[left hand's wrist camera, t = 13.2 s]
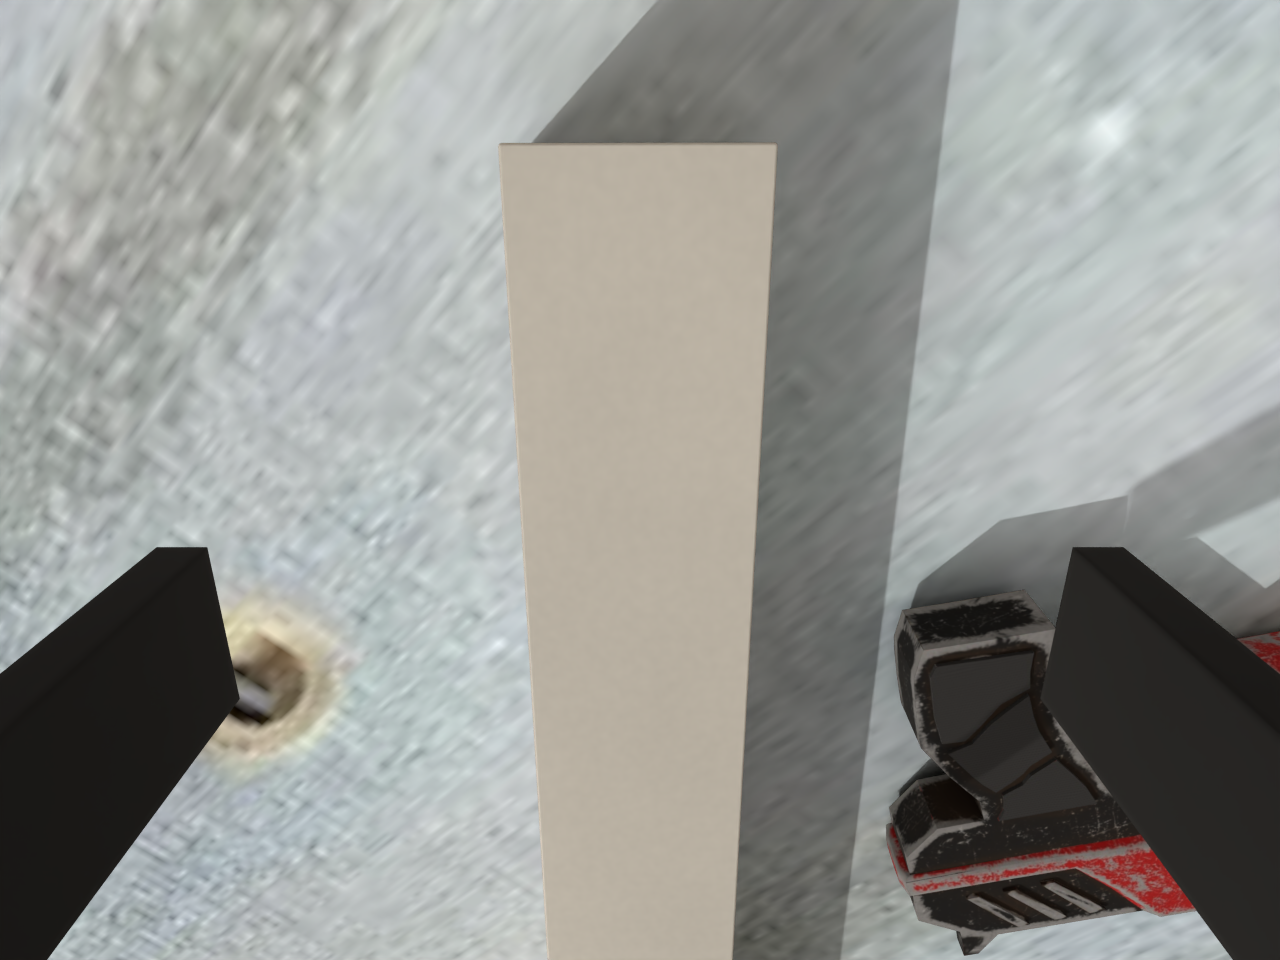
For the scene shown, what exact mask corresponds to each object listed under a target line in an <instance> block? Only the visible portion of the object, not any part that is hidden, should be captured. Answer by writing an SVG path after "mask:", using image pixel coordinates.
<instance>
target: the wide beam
mask: <svg viewBox="0 0 1280 960" xmlns="http://www.w3.org/2000/svg"><path fill="white" fill-rule="evenodd" d="M498 149H499V166H500V182H501V199H502V215H503V232H504V248H505V265H506V281H507V298H508V314H509V331H510V347H511V364H512V380H513V397H514V413H515V430H516V446H517V463H518V479H519V495H520V512H521V528H522V545H523V561H524V578H525V594H526V611H527V627H528V644H529V660H530V677H531V693H532V710H533V726H534V743H535V759H536V776H537V792H538V809H539V825H540V842H541V858H542V875H543V891H544V908H545V924H546V941H547V957H548V960H733V948H734V929H735V911H736V893H737V875H738V857H739V839H740V821H741V803H742V785H743V767H744V749H745V730H746V712H747V694H748V676H749V658H750V640H751V622H752V604H753V586H754V568H755V550H756V531H757V513H758V495H759V477H760V459H761V441H762V423H763V405H764V387H765V369H766V351H767V332H768V314H769V296H770V278H771V260H772V242H773V224H774V206H775V188H776V170H777V152H778V145H777V143H775V142H767V143H500V144H499V146H498Z"/></svg>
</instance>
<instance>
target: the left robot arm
mask: <svg viewBox="0 0 1280 960" xmlns="http://www.w3.org/2000/svg"><path fill="white" fill-rule="evenodd" d="M239 699H240V698H239V693H238V689H237V684H236V679H235V675H234V670H233V665H232V661H231V656H230V651H229V647H228V642H227V637H226V633H225V628H224V623H223V619H222V614H221V609H220V605H219V600H218V595H217V591H216V586H215V581H214V577H213V572H212V567H211V563H210V558H209V554H208V549H207V547H156V548H155V549H154V550H153V551H152V552H150V553H149V554H148V555H147V556H145V557H144V558H143V559H142V560H140V561H139V562H138V563H137V564H135V565H134V566H133V567H132V568H131V569H129V570H128V571H127V572H126V573H124V574H123V575H122V576H121V577H119V578H118V579H117V580H116V581H114V582H113V583H112V584H111V585H109V586H108V587H107V588H106V589H105V590H103V591H102V592H101V593H100V594H98V595H97V596H96V597H95V598H93V599H92V600H91V601H90V602H88V603H87V604H86V605H85V606H84V607H82V608H81V609H80V610H79V611H77V612H76V613H75V614H74V615H72V616H71V617H70V618H69V619H67V620H66V621H65V622H64V623H63V624H61V625H60V626H59V627H58V628H56V629H55V630H54V631H53V632H51V633H50V634H49V635H48V636H46V637H45V638H44V639H43V640H41V641H40V642H39V643H38V644H37V645H35V646H34V647H33V648H32V649H30V650H29V651H28V652H27V653H25V654H24V655H23V656H22V657H20V658H19V659H18V660H17V661H16V662H14V663H13V664H12V665H11V666H9V667H8V668H7V669H6V670H4V671H3V672H2V673H1V674H0V960H47V959H48V958H49V956H50V955H51V954H52V952H53V951H54V950H55V948H56V947H57V946H58V944H59V943H60V941H61V940H62V939H63V937H64V936H65V935H66V933H67V932H68V931H69V929H70V928H71V927H72V925H73V924H74V923H75V921H76V920H77V918H78V917H79V916H80V914H81V913H82V912H83V910H84V909H85V908H86V906H87V905H88V904H89V902H90V901H91V899H92V898H93V897H94V895H95V894H96V893H97V891H98V890H99V889H100V887H101V886H102V885H103V883H104V882H105V881H106V879H107V878H108V876H109V875H110V874H111V872H112V871H113V870H114V868H115V867H116V866H117V864H118V863H119V862H120V860H121V859H122V858H123V856H124V855H125V853H126V852H127V851H128V849H129V848H130V847H131V845H132V844H133V843H134V841H135V840H136V839H137V837H138V836H139V834H140V833H141V832H142V830H143V829H144V828H145V826H146V825H147V824H148V822H149V821H150V820H151V818H152V817H153V816H154V814H155V813H156V811H157V810H158V809H159V807H160V806H161V805H162V803H163V802H164V801H165V799H166V798H167V797H168V795H169V794H170V792H171V791H172V790H173V788H174V787H175V786H176V784H177V783H178V782H179V780H180V779H181V778H182V776H183V775H184V774H185V772H186V771H187V769H188V768H189V767H190V765H191V764H192V763H193V761H194V760H195V759H196V757H197V756H198V755H199V753H200V752H201V750H202V749H203V748H204V746H205V745H206V744H207V742H208V741H209V740H210V738H211V737H212V736H213V734H214V733H215V732H216V730H217V729H218V727H219V726H220V725H221V723H222V722H223V721H224V719H225V718H226V717H227V715H228V714H229V713H230V711H231V710H232V708H233V707H234V706H235V704H236V703H237V702H238V700H239ZM1040 699H1041V700H1042V702H1043V703H1044V704H1045V706H1046V707H1047V708H1048V710H1049V711H1050V713H1051V714H1052V715H1053V717H1054V718H1055V719H1056V721H1057V722H1058V723H1059V725H1060V726H1061V727H1062V729H1063V730H1064V732H1065V733H1066V734H1067V736H1068V737H1069V738H1070V740H1071V741H1072V742H1073V744H1074V745H1075V746H1076V748H1077V749H1078V750H1079V752H1080V753H1081V755H1082V756H1083V757H1084V759H1085V760H1086V761H1087V763H1088V764H1089V765H1090V767H1091V768H1092V769H1093V771H1094V772H1095V774H1096V775H1097V776H1098V778H1099V779H1100V780H1101V782H1102V783H1103V784H1104V786H1105V787H1106V788H1107V790H1108V791H1109V792H1110V794H1111V795H1112V797H1113V798H1114V799H1115V801H1116V802H1117V803H1118V805H1119V806H1120V807H1121V809H1122V810H1123V811H1124V813H1125V814H1126V816H1127V817H1128V818H1129V820H1130V821H1131V822H1132V824H1133V825H1134V826H1135V828H1136V829H1137V830H1138V832H1139V833H1140V834H1141V836H1142V837H1143V839H1144V840H1145V841H1146V843H1147V844H1148V845H1149V847H1150V848H1151V849H1152V851H1153V852H1154V853H1155V855H1156V856H1157V858H1158V859H1159V860H1160V862H1161V863H1162V864H1163V866H1164V867H1165V868H1166V870H1167V871H1168V872H1169V874H1170V875H1171V876H1172V878H1173V879H1174V881H1175V882H1176V883H1177V885H1178V886H1179V887H1180V889H1181V890H1182V891H1183V893H1184V894H1185V895H1186V897H1187V898H1188V900H1189V901H1190V902H1191V904H1192V905H1193V906H1194V908H1195V909H1196V910H1197V912H1198V913H1199V914H1200V916H1201V917H1202V918H1203V920H1204V921H1205V923H1206V924H1207V925H1208V927H1209V928H1210V929H1211V931H1212V932H1213V933H1214V935H1215V936H1216V937H1217V939H1218V940H1219V941H1220V943H1221V944H1222V946H1223V947H1224V948H1225V950H1226V951H1227V952H1228V954H1229V955H1230V956H1231V958H1232V959H1233V960H1280V674H1279V673H1278V672H1277V671H1276V670H1274V669H1273V668H1272V667H1271V666H1269V665H1268V664H1267V663H1266V662H1264V661H1263V660H1262V659H1261V658H1260V657H1258V656H1257V655H1256V654H1255V653H1253V652H1252V651H1251V650H1250V649H1248V648H1247V647H1246V646H1245V645H1243V644H1242V643H1241V642H1240V641H1239V640H1237V639H1236V638H1235V637H1234V636H1232V635H1231V634H1230V633H1229V632H1227V631H1226V630H1225V629H1224V628H1222V627H1221V626H1220V625H1219V624H1217V623H1216V622H1215V621H1214V620H1213V619H1211V618H1210V617H1209V616H1208V615H1206V614H1205V613H1204V612H1203V611H1201V610H1200V609H1199V608H1198V607H1196V606H1195V605H1194V604H1193V603H1192V602H1190V601H1189V600H1188V599H1187V598H1185V597H1184V596H1183V595H1182V594H1180V593H1179V592H1178V591H1177V590H1175V589H1174V588H1173V587H1172V586H1171V585H1169V584H1168V583H1167V582H1166V581H1164V580H1163V579H1162V578H1161V577H1159V576H1158V575H1157V574H1156V573H1154V572H1153V571H1152V570H1151V569H1149V568H1148V567H1147V566H1146V565H1145V564H1143V563H1142V562H1141V561H1140V560H1138V559H1137V558H1136V557H1135V556H1133V555H1132V554H1131V553H1130V552H1128V551H1127V550H1126V549H1125V548H1124V547H1073V549H1072V554H1071V558H1070V563H1069V567H1068V572H1067V577H1066V581H1065V586H1064V591H1063V595H1062V600H1061V605H1060V609H1059V614H1058V619H1057V623H1056V628H1055V633H1054V637H1053V642H1052V647H1051V651H1050V656H1049V661H1048V665H1047V670H1046V675H1045V679H1044V684H1043V689H1042V693H1041V698H1040Z"/></svg>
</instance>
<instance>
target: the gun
mask: <svg viewBox="0 0 1280 960" xmlns="http://www.w3.org/2000/svg"><path fill="white" fill-rule="evenodd" d="M1054 633H1055V627H1054V626H1053V624H1052V623H1051V622H1050V621H1049V619H1048V618H1047V617H1046V616H1045V614H1044V613H1043V612H1042V611H1041V610H1040V608H1039V607H1038V606H1037V605H1036V603H1035V602H1034V601H1033V600H1032V599H1031V597H1030V596H1029V595H1028V594H1027V592H1026V591H1025V590H1020V591H1014V592H1008V593H1002V594H997V595H991V596H985V597H979V598H973V599H967V600H962V601H956V602H949V603H943V604H937V605H931V606H924V607H918V608H912V609H906V610H902V613H901V616H900V619H899V622H898V625H897V628H896V631H895V635H894V650H895V661H896V672H897V679H898V685H899V692H900V698H901V703H902V706H903V708H904V710H905V712H906V715H907V717H908V719H909V722H910V724H911V726H912V728H913V731H914V733H915V735H916V737H917V740H918V742H919V744H920V747H921V749H922V750H923V751H924V752H925V753H926V754H927V755H928V756H929V757H930V758H931V759H932V760H933V761H934V762H935V763H936V764H937V765H938V766H939V767H940V768H941V769H942V770H943V771H944V772H945V773H946V774H945V775H940V776H934V777H929V778H924V779H919V780H916V781H915V782H914V783H913V784H912V785H911V786H910V787H909V788H908V789H907V790H906V791H905V792H904V793H903V794H902V795H901V796H900V797H899V798H898V799H897V800H896V801H895V802H894V803H893V804H892V805H891V806H890V807H889V810H890V815H891V820H892V823H889V824H887V825H886V840H887V845H888V849H889V852H890V856H891V859H892V862H893V865H894V868H895V871H896V874H897V876H898V879H899V882H900V884H901V885H902V886H903V888H904V889H905V890H906V891H907V893H908V894H909V895H910V897H911V900H912V903H913V906H914V908H915V911H916V914H917V917H918V920H919V921H922V922H926V923H930V924H933V925H937V926H941V927H944V928H948V929H952V930H955V931H956V932H957V938H958V941H959V944H960V946H961V949H962V952H963V954H964V956H965V955H972V954H978V953H979V952H980V951H981V950H982V949H983V948H984V947H985V946H986V945H987V944H988V943H989V942H991V941H992V940H993V939H994V938H995V937H996V936H997V935H998V934H1003V933H1009V932H1015V931H1021V930H1027V929H1033V928H1039V927H1045V926H1051V925H1057V924H1063V923H1069V922H1075V921H1081V920H1088V919H1094V918H1100V917H1106V916H1112V915H1118V914H1124V913H1130V912H1136V911H1142V910H1144V911H1147V912H1149V913H1152V914H1155V915H1158V916H1160V917H1162V916H1168V915H1174V914H1180V913H1186V912H1192V911H1197V910H1196V909H1195V908H1194V906H1193V905H1192V904H1191V902H1190V901H1189V900H1188V898H1187V897H1186V895H1185V894H1184V893H1183V891H1182V890H1181V889H1180V887H1179V886H1178V885H1177V883H1176V882H1175V881H1174V879H1173V878H1172V876H1171V875H1170V874H1169V872H1168V871H1167V870H1166V868H1165V867H1164V866H1163V864H1162V863H1161V862H1160V860H1159V859H1158V858H1157V856H1156V855H1155V853H1154V852H1153V851H1152V849H1151V848H1150V847H1149V845H1148V844H1147V843H1146V841H1145V840H1144V839H1143V837H1142V836H1141V834H1140V833H1139V832H1138V830H1137V829H1136V828H1135V826H1134V825H1133V824H1132V822H1131V821H1130V820H1129V818H1128V817H1127V816H1126V814H1125V813H1124V811H1123V810H1122V809H1121V807H1120V806H1119V805H1118V803H1117V802H1116V801H1115V799H1114V798H1113V797H1112V795H1111V794H1110V792H1109V791H1108V790H1107V788H1106V787H1105V786H1104V784H1103V783H1102V782H1101V780H1100V779H1099V778H1098V776H1097V775H1096V774H1095V772H1094V771H1093V769H1092V768H1091V767H1090V765H1089V764H1088V763H1087V761H1086V760H1085V759H1084V757H1083V756H1082V755H1081V753H1080V752H1079V750H1078V749H1077V748H1076V746H1075V745H1074V744H1073V742H1072V741H1071V740H1070V738H1069V737H1068V736H1067V734H1066V733H1065V732H1064V730H1063V729H1062V727H1061V726H1060V725H1059V723H1058V722H1057V721H1056V719H1055V718H1054V717H1053V715H1052V714H1051V713H1050V711H1049V710H1048V708H1047V707H1046V706H1045V704H1044V703H1043V702H1042V700H1041V699H1040V698H1041V693H1042V689H1043V684H1044V679H1045V675H1046V670H1047V665H1048V661H1049V656H1050V651H1051V647H1052V642H1053V637H1054ZM1237 640H1239V641H1240V642H1241V643H1242V644H1243V645H1245V646H1246V647H1247V648H1248V649H1250V650H1251V651H1252V652H1253V653H1255V654H1256V655H1257V656H1258V657H1260V658H1261V659H1262V660H1263V661H1264V662H1266V663H1267V664H1268V665H1269V666H1271V667H1272V668H1273V669H1274V670H1276V671H1277V672H1278V673H1279V674H1280V631H1278V632H1273V633H1268V634H1262V635H1257V636H1251V637H1246V638H1240V639H1237Z"/></svg>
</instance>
